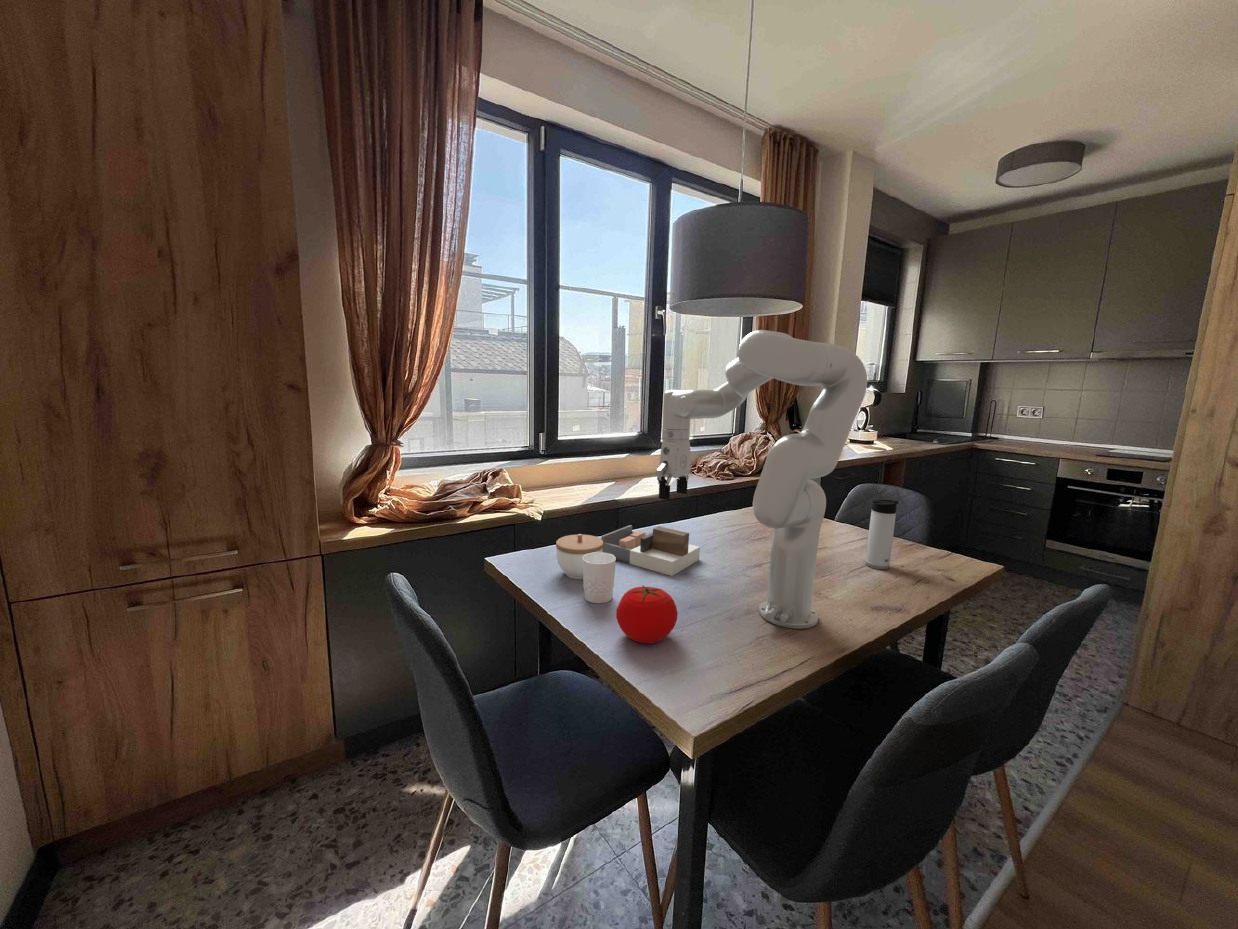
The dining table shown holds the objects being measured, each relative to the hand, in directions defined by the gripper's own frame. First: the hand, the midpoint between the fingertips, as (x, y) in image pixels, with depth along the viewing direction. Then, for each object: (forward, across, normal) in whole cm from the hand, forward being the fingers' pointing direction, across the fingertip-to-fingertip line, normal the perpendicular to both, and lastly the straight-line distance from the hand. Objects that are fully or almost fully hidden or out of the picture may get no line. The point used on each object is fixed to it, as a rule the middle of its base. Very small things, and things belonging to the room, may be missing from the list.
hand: (673, 496), depth 135 cm
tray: (+20, 0, +15) cm, 25 cm away
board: (+20, +1, +2) cm, 20 cm away
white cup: (+20, -30, +2) cm, 36 cm away
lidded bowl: (+20, -22, +15) cm, 34 cm away
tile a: (+17, -3, +12) cm, 21 cm away
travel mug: (+21, +39, -48) cm, 65 cm away
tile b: (+17, +3, +12) cm, 21 cm away
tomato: (+21, -38, -17) cm, 46 cm away
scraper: (+16, 0, 0) cm, 16 cm away
